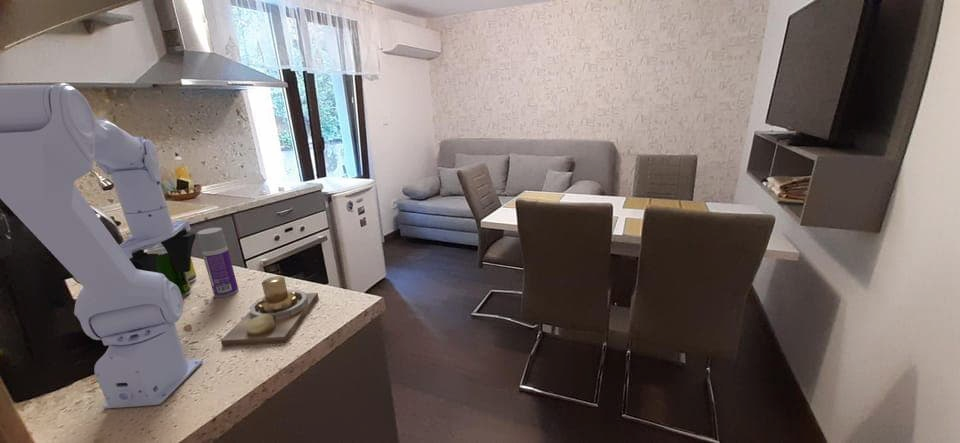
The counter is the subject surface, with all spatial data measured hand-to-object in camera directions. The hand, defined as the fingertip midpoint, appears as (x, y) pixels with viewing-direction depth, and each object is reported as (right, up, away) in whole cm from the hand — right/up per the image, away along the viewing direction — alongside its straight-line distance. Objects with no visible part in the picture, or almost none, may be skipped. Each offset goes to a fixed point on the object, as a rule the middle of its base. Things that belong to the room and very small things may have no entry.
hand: (169, 280), depth 67 cm
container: (-1, -6, +17) cm, 18 cm away
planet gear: (+16, -7, +8) cm, 19 cm away
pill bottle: (-17, -4, +23) cm, 29 cm away
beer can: (-12, -6, +17) cm, 22 cm away
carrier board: (+16, -8, +6) cm, 19 cm away
